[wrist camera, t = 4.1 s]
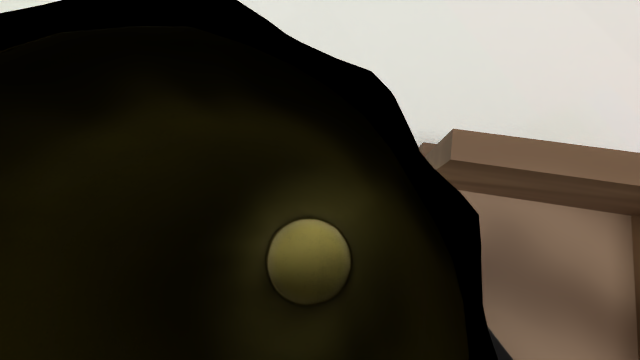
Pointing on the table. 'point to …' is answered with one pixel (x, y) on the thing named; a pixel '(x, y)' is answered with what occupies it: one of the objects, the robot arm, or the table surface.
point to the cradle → (552, 242)
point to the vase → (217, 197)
